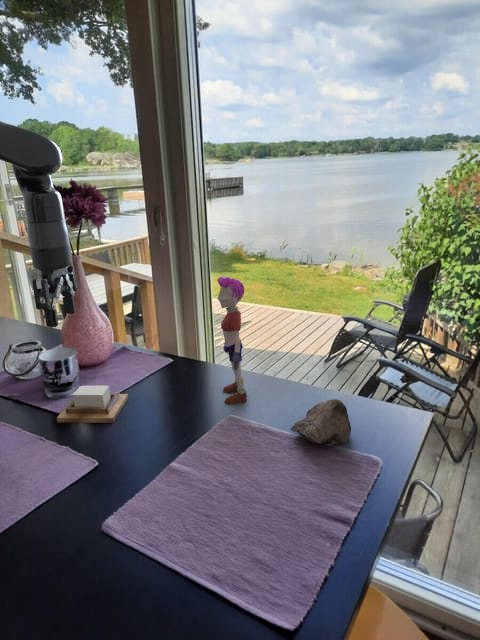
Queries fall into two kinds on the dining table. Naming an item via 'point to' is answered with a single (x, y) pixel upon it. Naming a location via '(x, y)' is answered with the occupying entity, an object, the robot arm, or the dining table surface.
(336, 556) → the dining table surface
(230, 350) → the toy
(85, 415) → the small square wooden tray
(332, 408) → the rock
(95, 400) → the beige rectangular block
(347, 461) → the dining table surface
